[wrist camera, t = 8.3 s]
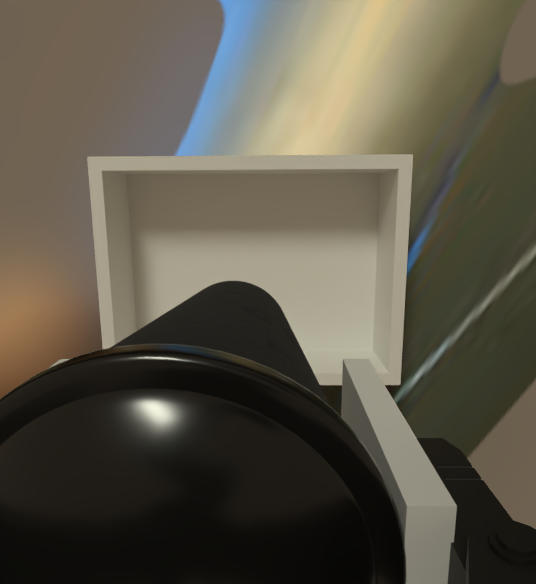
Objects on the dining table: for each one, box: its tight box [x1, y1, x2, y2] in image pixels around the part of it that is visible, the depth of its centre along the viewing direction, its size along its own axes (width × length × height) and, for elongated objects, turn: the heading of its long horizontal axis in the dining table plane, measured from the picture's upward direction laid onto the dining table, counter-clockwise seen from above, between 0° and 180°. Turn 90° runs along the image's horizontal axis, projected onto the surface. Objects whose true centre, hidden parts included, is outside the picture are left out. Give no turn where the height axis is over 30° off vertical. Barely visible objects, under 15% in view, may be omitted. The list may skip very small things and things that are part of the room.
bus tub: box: [87, 154, 413, 385], centre depth 39 cm, size 24×18×7 cm
